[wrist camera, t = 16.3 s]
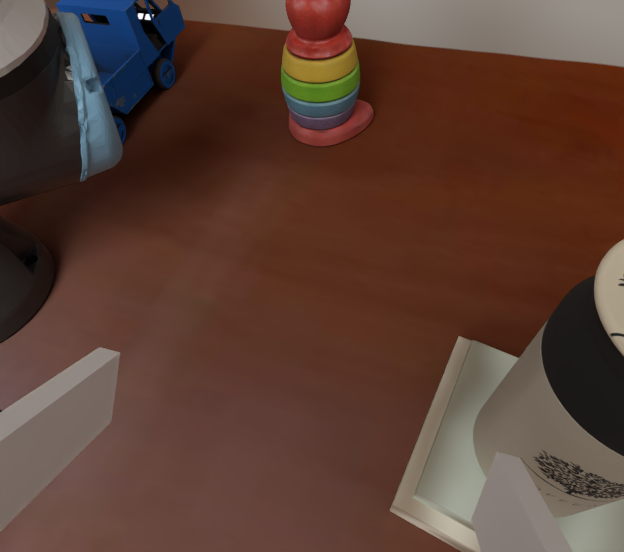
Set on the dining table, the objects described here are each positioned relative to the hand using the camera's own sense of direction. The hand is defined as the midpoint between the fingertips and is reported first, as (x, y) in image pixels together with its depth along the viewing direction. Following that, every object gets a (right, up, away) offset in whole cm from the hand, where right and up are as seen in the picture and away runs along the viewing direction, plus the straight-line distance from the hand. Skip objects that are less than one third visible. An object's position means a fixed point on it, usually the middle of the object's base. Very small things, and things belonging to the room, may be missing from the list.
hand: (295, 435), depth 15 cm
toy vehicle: (-27, +31, +50) cm, 65 cm away
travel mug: (+15, -6, +14) cm, 22 cm away
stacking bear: (+2, +25, +43) cm, 50 cm away
